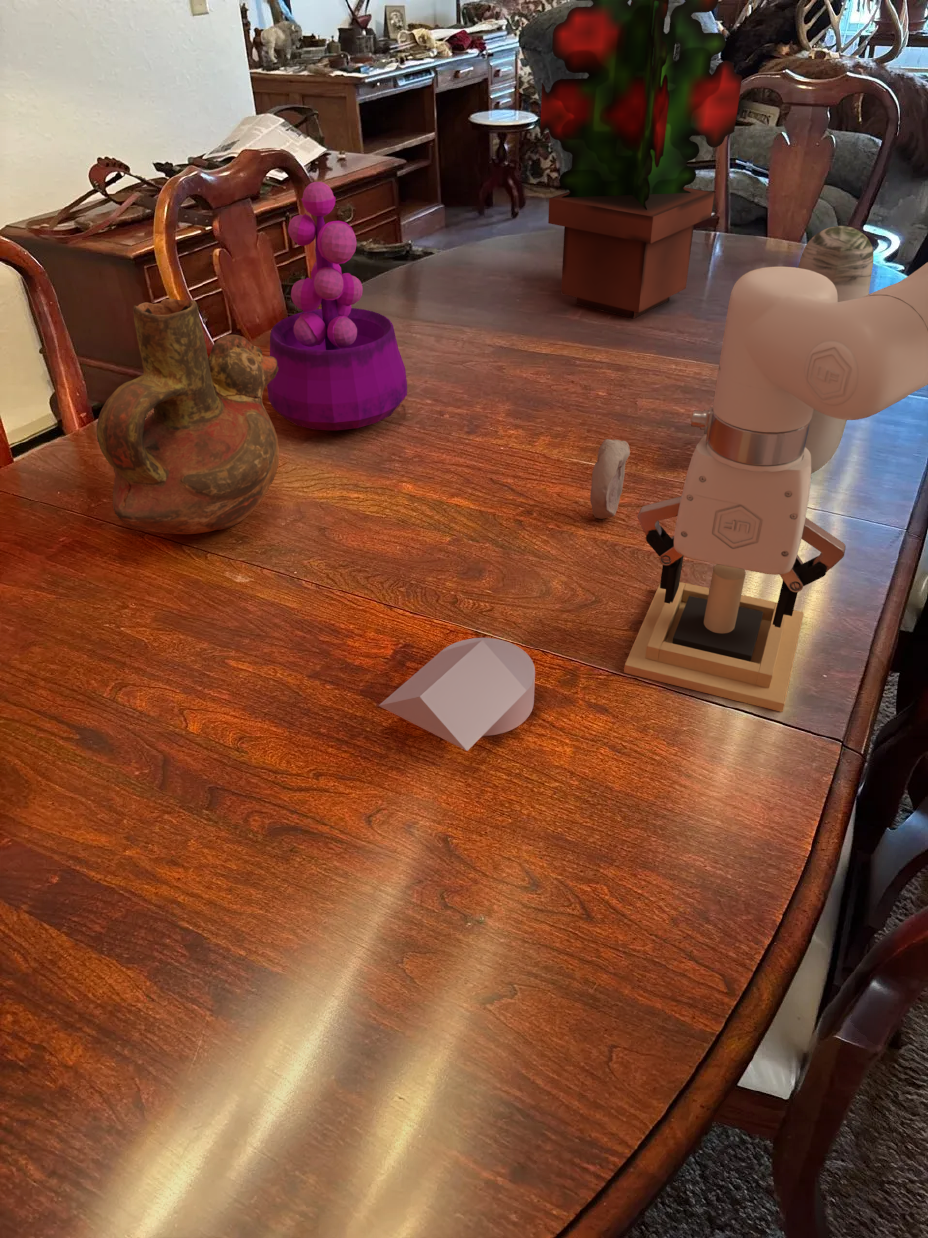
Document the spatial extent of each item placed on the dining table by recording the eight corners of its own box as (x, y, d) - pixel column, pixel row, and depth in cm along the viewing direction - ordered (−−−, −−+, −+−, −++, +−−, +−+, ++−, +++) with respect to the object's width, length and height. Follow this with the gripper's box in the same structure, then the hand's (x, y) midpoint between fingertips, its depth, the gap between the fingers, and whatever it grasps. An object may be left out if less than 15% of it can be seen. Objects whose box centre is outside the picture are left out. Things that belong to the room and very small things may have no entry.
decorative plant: (433, 403, 130) (424, 172, 112) (363, 459, 117) (340, 208, 99) (322, 380, 137) (297, 159, 119) (244, 431, 124) (202, 191, 106)
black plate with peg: (760, 624, 87) (775, 558, 83) (748, 668, 82) (764, 601, 78) (687, 607, 89) (697, 542, 85) (670, 650, 84) (681, 583, 80)
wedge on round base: (467, 780, 73) (553, 691, 82) (466, 719, 69) (556, 631, 78) (381, 734, 78) (470, 654, 86) (375, 674, 74) (469, 595, 82)
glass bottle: (837, 491, 109) (903, 244, 92) (748, 484, 110) (796, 240, 93) (828, 453, 116) (887, 218, 99) (745, 446, 118) (789, 215, 101)
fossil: (606, 535, 102) (614, 454, 96) (578, 527, 103) (584, 446, 97) (627, 512, 106) (636, 432, 100) (600, 504, 107) (606, 425, 101)
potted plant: (534, 305, 161) (544, -4, 134) (604, 274, 175) (626, -13, 147) (644, 333, 150) (679, 2, 123) (709, 298, 163) (754, -9, 136)
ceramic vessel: (341, 481, 113) (319, 272, 97) (198, 591, 95) (143, 356, 79) (232, 452, 119) (195, 251, 104) (78, 550, 101) (6, 325, 86)
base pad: (801, 620, 89) (807, 599, 88) (782, 712, 79) (788, 690, 78) (659, 589, 94) (662, 568, 92) (623, 672, 84) (625, 651, 82)
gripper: (638, 436, 73) (620, 608, 84) (869, 473, 68) (819, 653, 78) (660, 399, 79) (640, 565, 89) (875, 431, 73) (827, 604, 84)
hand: (723, 606), depth 84 cm, fingers open, 9 cm apart
